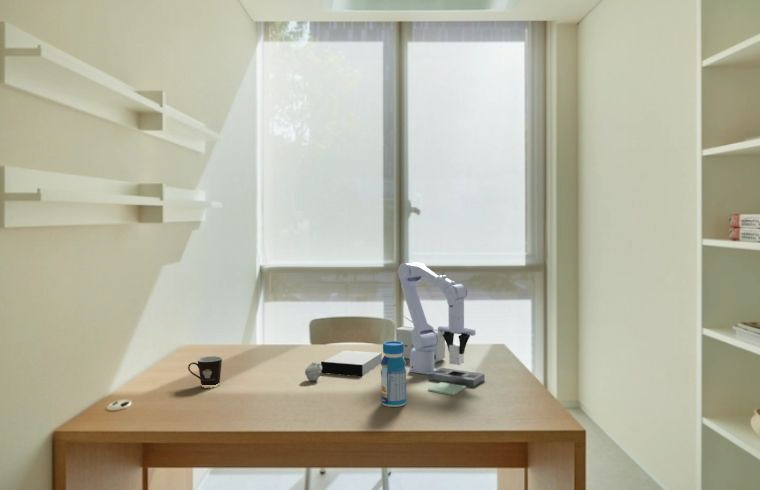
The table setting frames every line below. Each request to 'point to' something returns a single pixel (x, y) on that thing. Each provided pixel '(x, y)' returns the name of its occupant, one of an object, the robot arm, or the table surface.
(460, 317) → the robot arm
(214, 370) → the coffee mug
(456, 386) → the rubber pad
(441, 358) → the stereo radio cassette player
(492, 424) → the table surface
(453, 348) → the steel peg
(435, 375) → the plate with square hole
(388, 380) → the beverage bottle
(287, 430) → the table surface
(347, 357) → the disc drive
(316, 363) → the frog figurine
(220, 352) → the table surface
